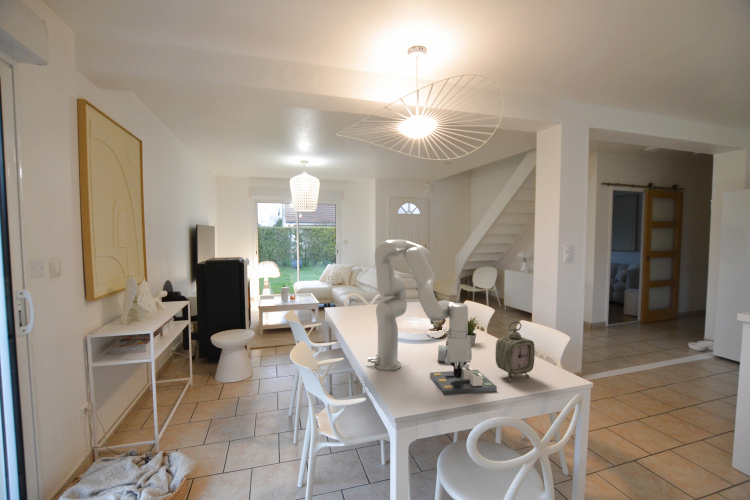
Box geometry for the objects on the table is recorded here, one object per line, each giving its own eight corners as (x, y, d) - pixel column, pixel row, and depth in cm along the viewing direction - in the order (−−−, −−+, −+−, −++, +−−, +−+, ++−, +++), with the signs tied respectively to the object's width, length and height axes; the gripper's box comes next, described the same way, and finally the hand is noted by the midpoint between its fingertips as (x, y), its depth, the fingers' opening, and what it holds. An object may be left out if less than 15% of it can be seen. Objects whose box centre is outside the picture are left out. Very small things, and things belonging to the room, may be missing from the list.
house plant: (462, 338, 201) (462, 311, 200) (485, 342, 192) (486, 315, 192) (453, 344, 189) (453, 316, 188) (477, 349, 181) (477, 320, 180)
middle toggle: (463, 379, 138) (464, 369, 137) (461, 377, 140) (461, 367, 140) (472, 379, 138) (473, 369, 138) (470, 376, 141) (470, 366, 140)
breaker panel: (444, 395, 129) (444, 388, 129) (429, 377, 145) (430, 371, 145) (496, 391, 132) (496, 385, 132) (477, 374, 149) (477, 368, 149)
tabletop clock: (508, 385, 138) (510, 325, 137) (493, 376, 146) (494, 320, 145) (534, 379, 144) (535, 322, 143) (517, 371, 152) (518, 317, 151)
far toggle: (460, 373, 144) (460, 363, 143) (458, 371, 146) (458, 361, 146) (469, 373, 144) (469, 363, 144) (466, 370, 147) (466, 361, 147)
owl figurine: (424, 330, 217) (425, 304, 217) (442, 330, 217) (443, 305, 217) (428, 338, 199) (429, 310, 199) (448, 339, 199) (449, 311, 199)
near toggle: (472, 386, 132) (473, 375, 132) (470, 383, 134) (470, 372, 134) (482, 385, 132) (482, 374, 132) (479, 382, 135) (479, 372, 135)
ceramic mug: (455, 364, 160) (455, 348, 159) (437, 363, 161) (437, 347, 161) (454, 357, 170) (454, 342, 170) (437, 356, 172) (438, 341, 171)
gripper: (444, 336, 133) (443, 381, 133) (479, 335, 135) (478, 379, 136) (437, 331, 140) (437, 374, 141) (471, 330, 142) (470, 372, 143)
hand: (457, 376), depth 138 cm, fingers closed
